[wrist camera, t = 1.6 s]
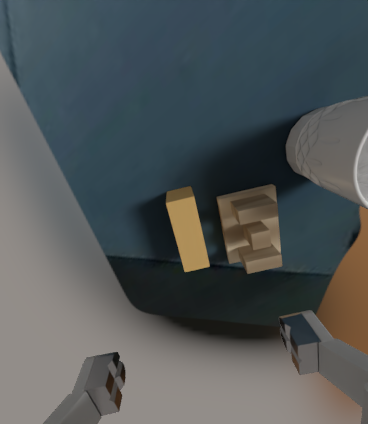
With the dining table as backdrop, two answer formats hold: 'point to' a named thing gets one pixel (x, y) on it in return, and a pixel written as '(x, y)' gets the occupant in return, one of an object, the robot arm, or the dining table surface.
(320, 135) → the white cup
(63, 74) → the dining table surface
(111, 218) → the dining table surface
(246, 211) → the display stand
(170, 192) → the tan rectangular block
